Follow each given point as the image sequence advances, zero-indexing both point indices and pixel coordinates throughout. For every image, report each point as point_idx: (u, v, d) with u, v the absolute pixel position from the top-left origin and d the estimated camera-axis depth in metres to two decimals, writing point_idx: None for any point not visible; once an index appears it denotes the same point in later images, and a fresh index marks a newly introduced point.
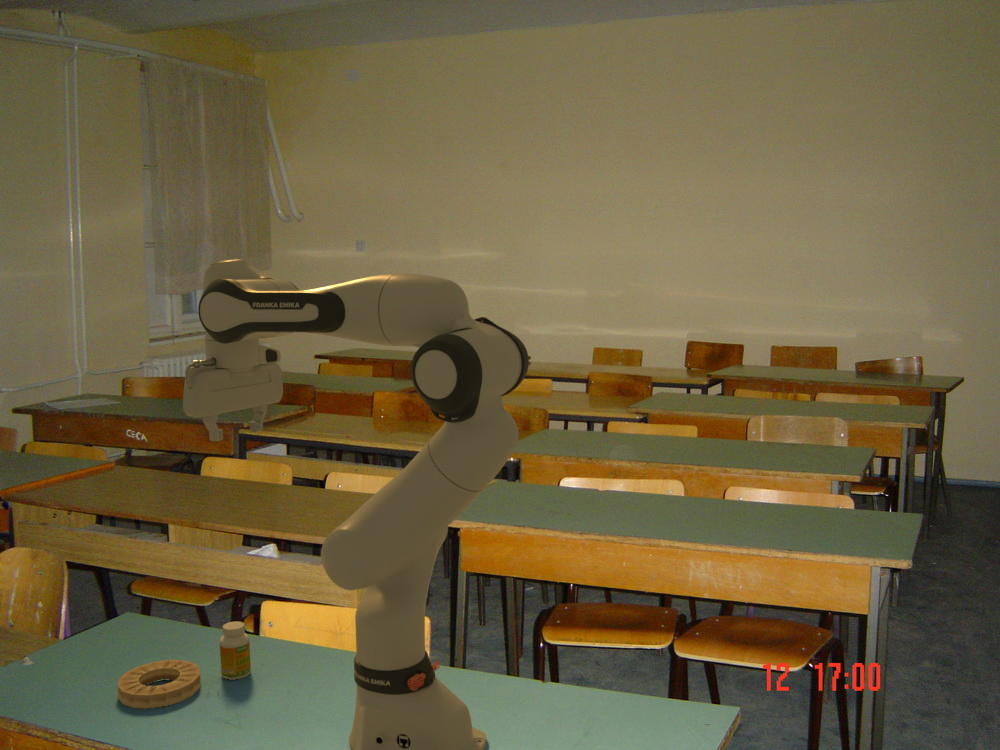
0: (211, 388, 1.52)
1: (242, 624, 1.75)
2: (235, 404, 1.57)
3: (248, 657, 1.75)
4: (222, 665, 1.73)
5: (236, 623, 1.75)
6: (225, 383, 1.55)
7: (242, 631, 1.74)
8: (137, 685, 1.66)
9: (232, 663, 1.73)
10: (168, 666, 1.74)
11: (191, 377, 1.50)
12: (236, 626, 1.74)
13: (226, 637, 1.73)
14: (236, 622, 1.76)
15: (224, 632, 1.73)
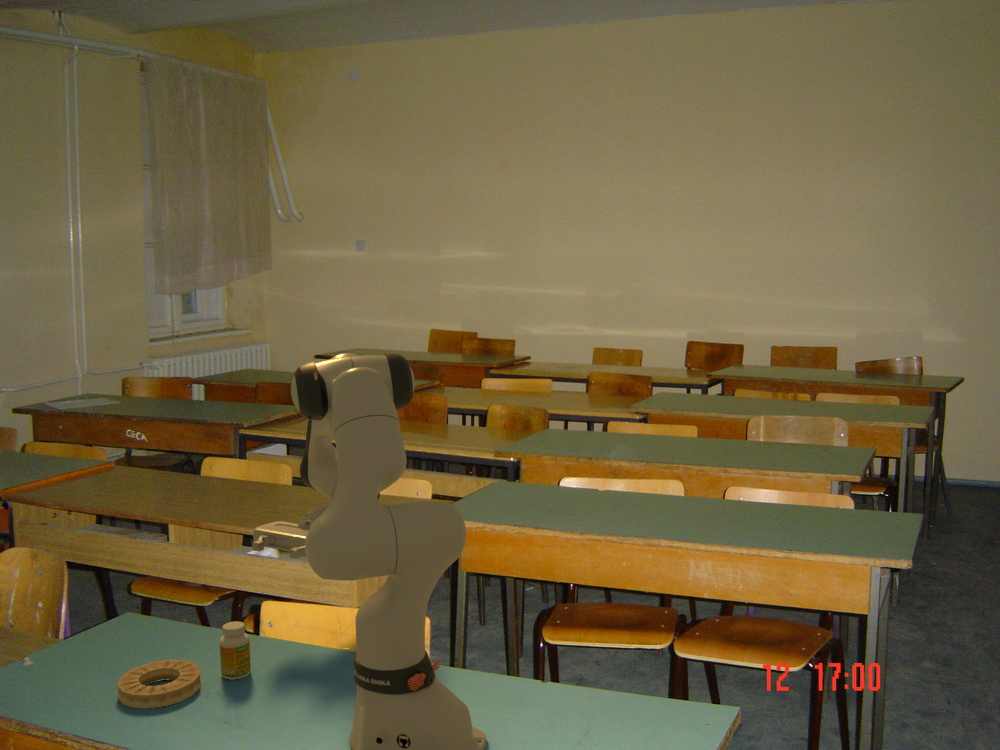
0: (277, 526, 1.94)
1: (242, 624, 1.75)
2: (285, 532, 1.89)
3: (248, 657, 1.75)
4: (222, 665, 1.73)
5: (236, 623, 1.75)
6: (291, 527, 1.93)
7: (242, 631, 1.74)
8: (137, 685, 1.66)
9: (232, 663, 1.72)
10: (168, 666, 1.74)
11: None
12: (236, 626, 1.74)
13: (226, 637, 1.73)
14: (236, 622, 1.76)
15: (224, 632, 1.73)
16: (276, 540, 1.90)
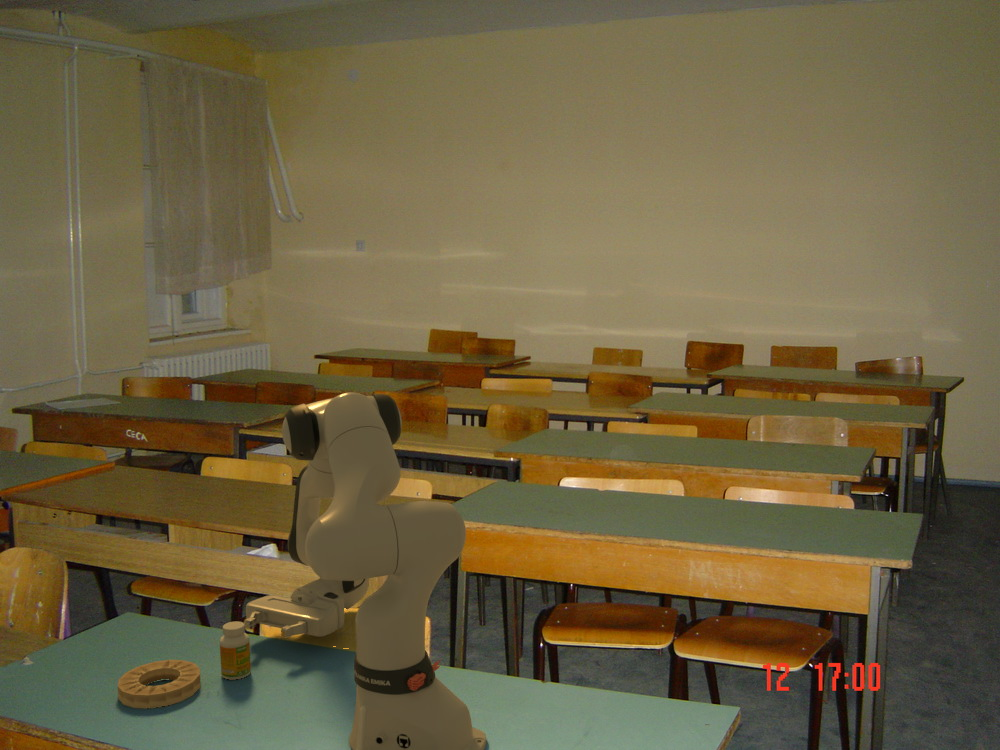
0: (270, 600, 1.93)
1: (242, 624, 1.75)
2: (278, 608, 1.87)
3: (248, 657, 1.75)
4: (222, 665, 1.73)
5: (236, 623, 1.75)
6: (284, 602, 1.92)
7: (242, 631, 1.74)
8: (137, 685, 1.66)
9: (232, 663, 1.73)
10: (168, 666, 1.74)
11: None
12: (236, 626, 1.74)
13: (226, 637, 1.73)
14: (236, 622, 1.76)
15: (224, 632, 1.73)
16: (269, 616, 1.88)
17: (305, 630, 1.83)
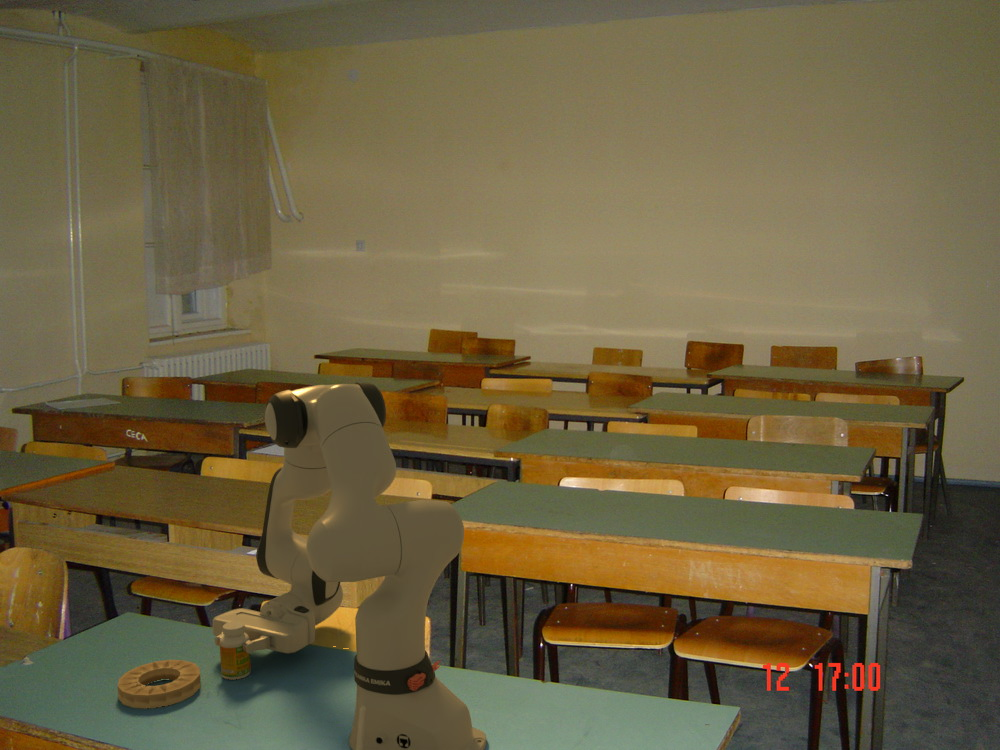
0: (238, 614, 1.85)
1: (242, 624, 1.75)
2: (245, 623, 1.80)
3: (248, 657, 1.75)
4: (222, 665, 1.73)
5: (236, 623, 1.75)
6: (252, 616, 1.84)
7: (242, 631, 1.74)
8: (137, 685, 1.66)
9: (232, 663, 1.73)
10: (168, 666, 1.74)
11: None
12: (236, 626, 1.74)
13: (226, 637, 1.73)
14: (236, 622, 1.76)
15: (224, 632, 1.73)
16: None
17: (268, 645, 1.75)
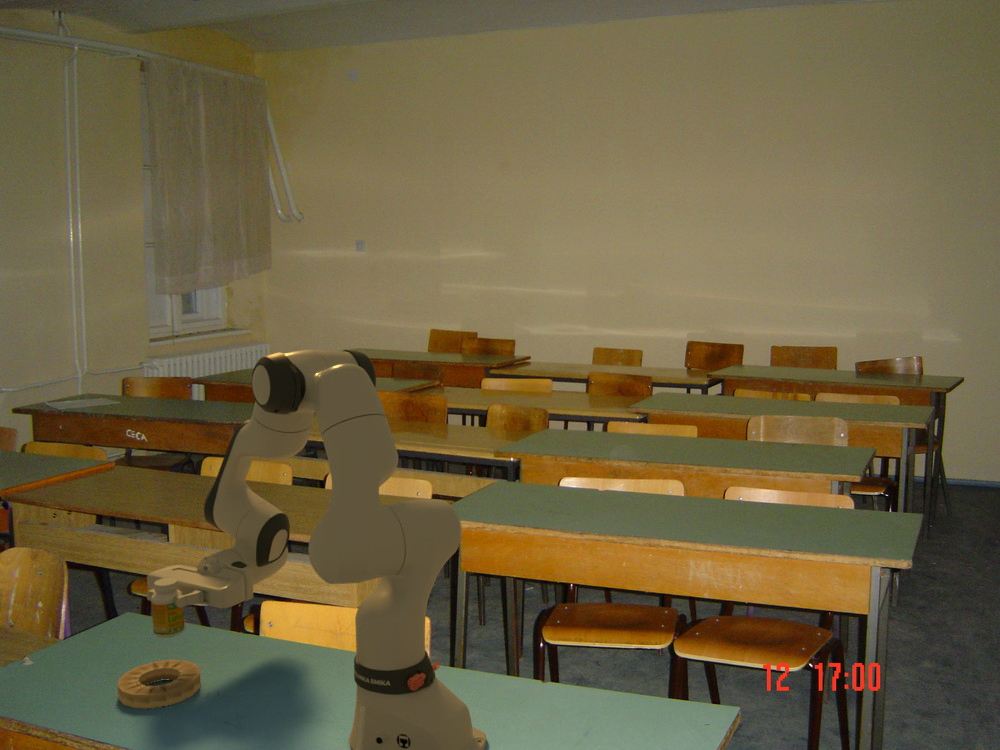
0: (175, 570, 1.79)
1: (174, 580, 1.69)
2: (180, 578, 1.73)
3: (181, 614, 1.69)
4: (154, 622, 1.67)
5: (168, 579, 1.69)
6: (188, 572, 1.77)
7: (174, 587, 1.68)
8: (137, 685, 1.66)
9: (163, 620, 1.66)
10: (168, 666, 1.74)
11: None
12: (168, 582, 1.68)
13: (157, 593, 1.67)
14: (169, 578, 1.70)
15: (155, 588, 1.67)
16: None
17: (201, 600, 1.69)
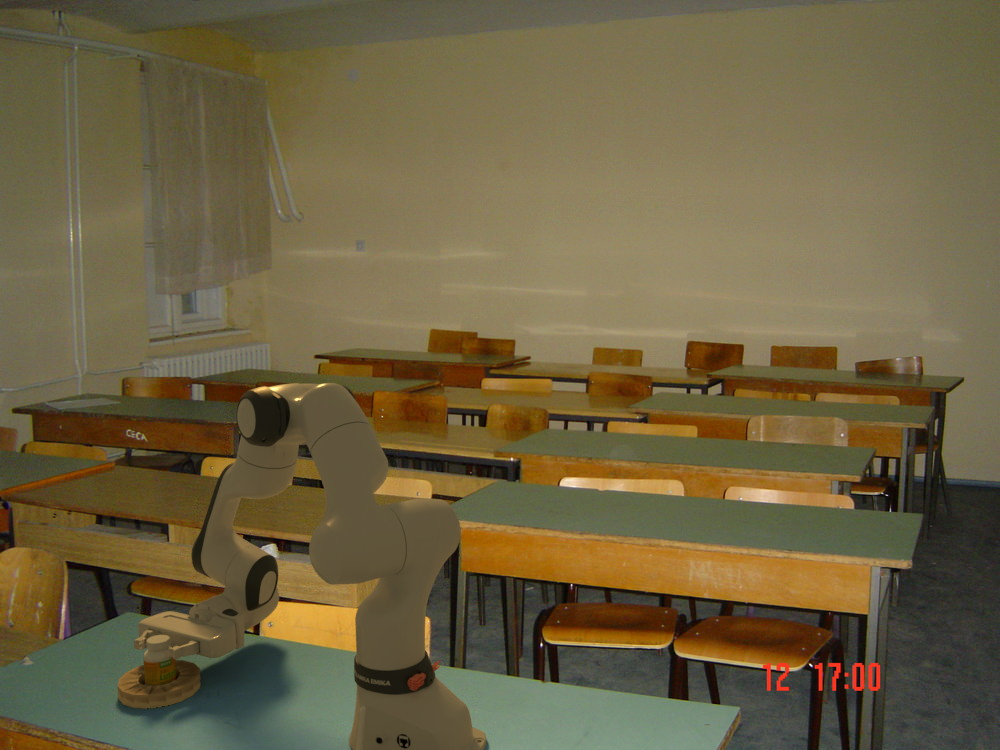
0: (166, 617, 1.79)
1: (167, 638, 1.69)
2: (171, 627, 1.73)
3: (173, 672, 1.69)
4: (145, 680, 1.68)
5: (161, 636, 1.70)
6: (180, 620, 1.78)
7: (166, 645, 1.68)
8: (137, 685, 1.66)
9: (155, 678, 1.67)
10: None
11: None
12: (160, 640, 1.68)
13: (150, 651, 1.67)
14: (161, 635, 1.70)
15: (147, 646, 1.67)
16: None
17: (197, 651, 1.69)
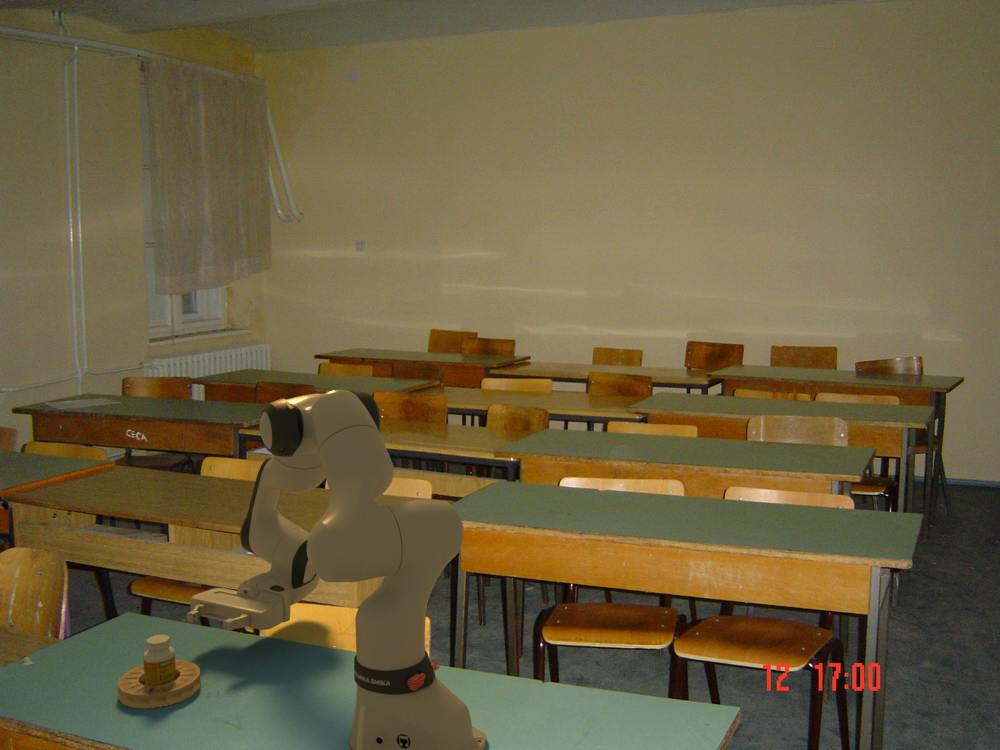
0: (216, 593, 1.90)
1: (167, 638, 1.69)
2: (222, 601, 1.85)
3: (173, 672, 1.69)
4: (145, 680, 1.68)
5: (161, 636, 1.70)
6: (229, 595, 1.89)
7: (166, 645, 1.68)
8: (137, 685, 1.66)
9: (155, 678, 1.67)
10: None
11: None
12: (161, 640, 1.68)
13: (150, 651, 1.67)
14: (161, 635, 1.70)
15: (147, 646, 1.67)
16: (213, 609, 1.86)
17: (248, 623, 1.80)
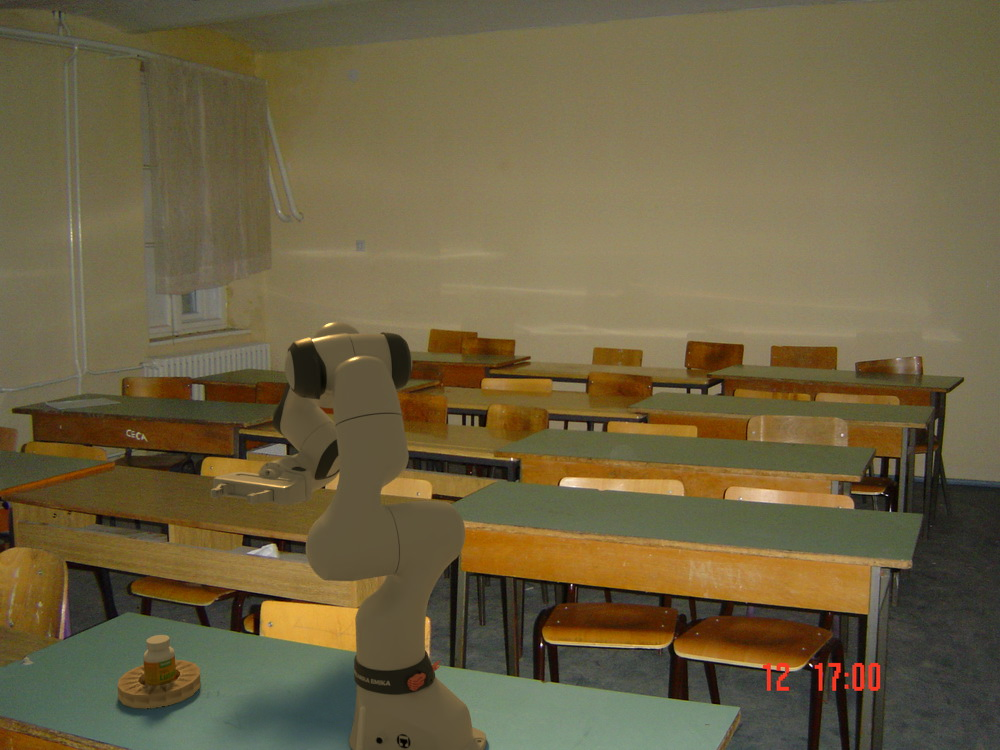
0: (238, 475, 1.91)
1: (167, 638, 1.69)
2: (244, 480, 1.86)
3: (173, 672, 1.69)
4: (145, 680, 1.68)
5: (161, 636, 1.70)
6: (251, 477, 1.90)
7: (166, 645, 1.68)
8: (137, 685, 1.66)
9: (155, 678, 1.67)
10: None
11: None
12: (160, 640, 1.68)
13: (149, 651, 1.67)
14: (161, 636, 1.70)
15: (147, 646, 1.67)
16: (236, 489, 1.87)
17: (271, 499, 1.81)
